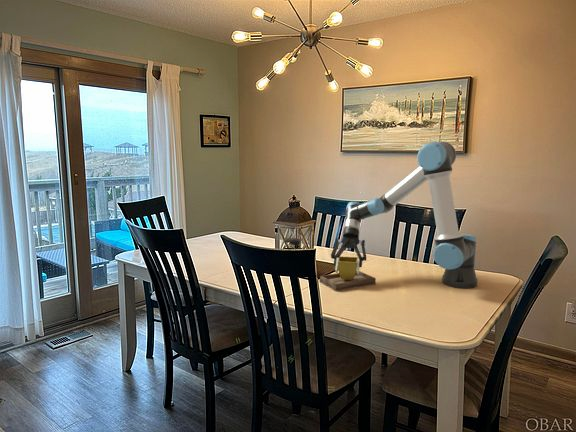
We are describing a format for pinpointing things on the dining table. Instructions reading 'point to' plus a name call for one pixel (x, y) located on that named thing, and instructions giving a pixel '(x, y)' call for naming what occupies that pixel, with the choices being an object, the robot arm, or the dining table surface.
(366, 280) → the walnut tray
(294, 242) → the french press
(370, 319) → the dining table surface
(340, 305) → the dining table surface
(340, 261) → the flower pot
